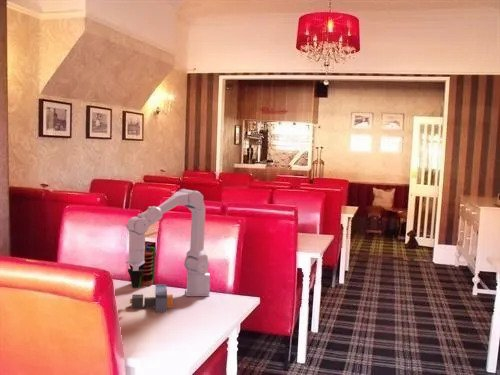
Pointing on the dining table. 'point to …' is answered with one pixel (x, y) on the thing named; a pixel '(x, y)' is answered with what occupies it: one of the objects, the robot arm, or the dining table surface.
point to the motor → (148, 267)
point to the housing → (161, 298)
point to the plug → (148, 301)
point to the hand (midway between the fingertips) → (135, 284)
